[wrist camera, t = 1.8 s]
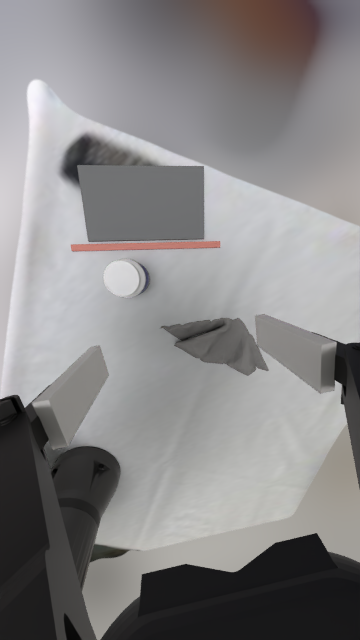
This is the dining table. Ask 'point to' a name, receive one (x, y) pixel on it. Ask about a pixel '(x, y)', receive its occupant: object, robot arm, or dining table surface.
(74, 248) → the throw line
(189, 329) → the cloth
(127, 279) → the pill bottle
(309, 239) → the dining table surface
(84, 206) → the mat
